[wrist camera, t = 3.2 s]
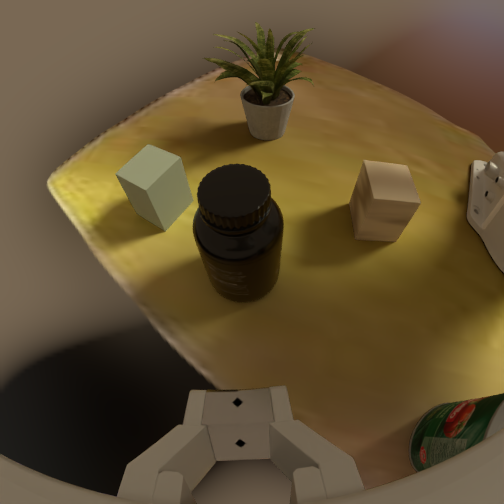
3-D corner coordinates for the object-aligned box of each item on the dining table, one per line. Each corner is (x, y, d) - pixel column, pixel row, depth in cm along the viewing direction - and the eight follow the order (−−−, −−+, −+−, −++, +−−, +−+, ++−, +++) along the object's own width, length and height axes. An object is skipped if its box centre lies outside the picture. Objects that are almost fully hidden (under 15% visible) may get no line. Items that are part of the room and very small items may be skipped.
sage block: (163, 185, 35) (148, 144, 29) (193, 200, 33) (180, 157, 27) (136, 213, 33) (115, 173, 27) (165, 231, 32) (145, 190, 25)
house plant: (269, 92, 45) (269, 7, 31) (336, 126, 40) (352, 28, 26) (203, 127, 40) (186, 27, 26) (271, 170, 35) (273, 47, 21)
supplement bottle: (293, 275, 28) (310, 195, 18) (237, 318, 26) (220, 256, 16) (249, 230, 31) (243, 141, 21) (196, 266, 29) (162, 186, 19)
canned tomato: (429, 490, 16) (498, 511, 7) (394, 442, 20) (465, 453, 10) (479, 435, 18) (553, 428, 9) (449, 386, 22) (525, 365, 12)
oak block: (349, 203, 33) (363, 160, 27) (387, 206, 32) (407, 165, 26) (354, 240, 30) (374, 198, 24) (395, 241, 30) (420, 203, 24)
